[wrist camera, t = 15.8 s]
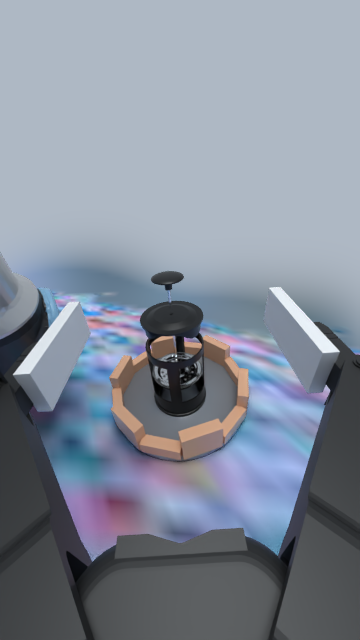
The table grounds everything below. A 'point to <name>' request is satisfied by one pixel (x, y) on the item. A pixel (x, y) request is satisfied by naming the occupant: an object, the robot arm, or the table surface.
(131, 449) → the table surface
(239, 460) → the table surface
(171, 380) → the french press
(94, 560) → the robot arm
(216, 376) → the castellated ring
